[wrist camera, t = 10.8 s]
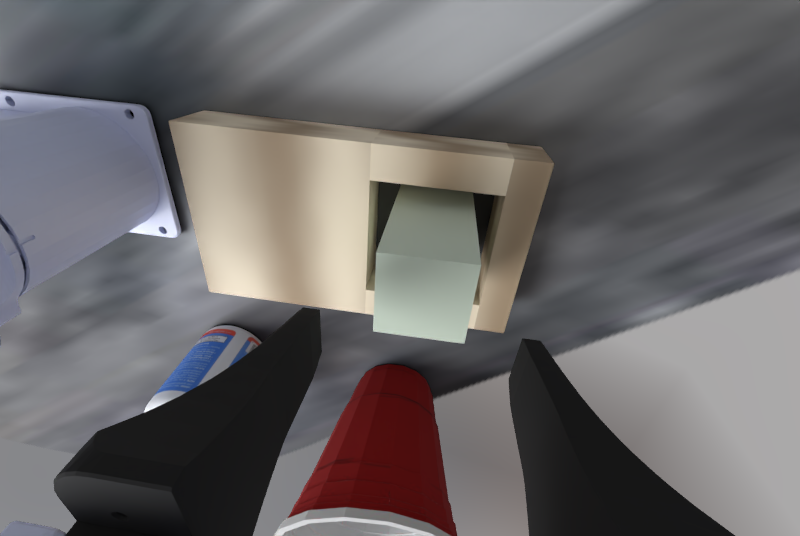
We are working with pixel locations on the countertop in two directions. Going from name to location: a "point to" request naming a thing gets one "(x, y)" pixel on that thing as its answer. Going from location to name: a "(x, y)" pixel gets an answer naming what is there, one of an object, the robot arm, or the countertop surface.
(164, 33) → the countertop surface
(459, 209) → the square peg
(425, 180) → the socket rail
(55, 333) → the countertop surface
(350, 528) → the plastic cup
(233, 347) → the pill bottle
